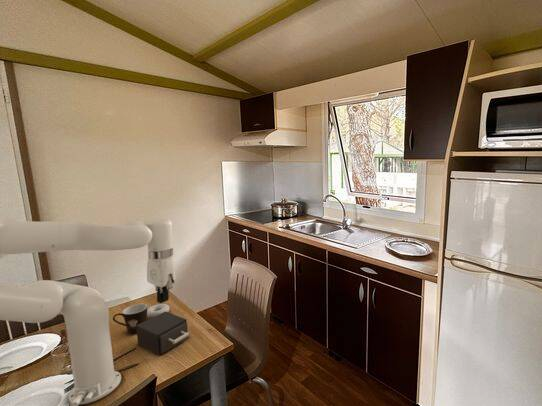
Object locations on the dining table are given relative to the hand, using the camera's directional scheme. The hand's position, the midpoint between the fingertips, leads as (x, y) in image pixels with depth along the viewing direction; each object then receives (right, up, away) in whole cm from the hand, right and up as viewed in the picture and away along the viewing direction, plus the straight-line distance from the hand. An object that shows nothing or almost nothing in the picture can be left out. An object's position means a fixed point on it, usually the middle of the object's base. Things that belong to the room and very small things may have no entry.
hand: (163, 301), depth 100 cm
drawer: (-4, -20, +10) cm, 23 cm away
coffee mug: (-25, -19, +18) cm, 37 cm away
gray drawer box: (-7, -21, +11) cm, 25 cm away
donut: (-23, -18, +31) cm, 42 cm away
